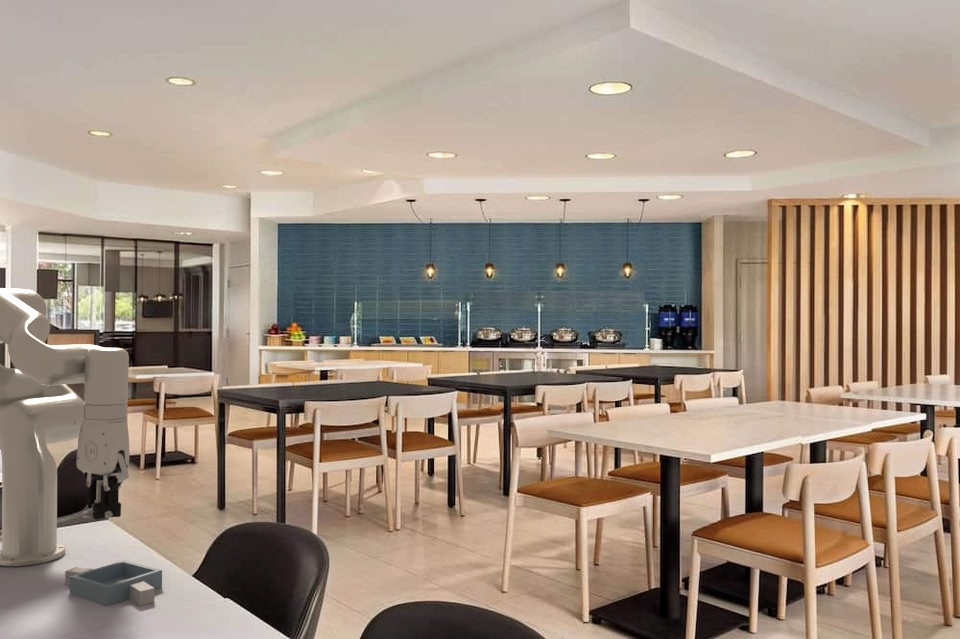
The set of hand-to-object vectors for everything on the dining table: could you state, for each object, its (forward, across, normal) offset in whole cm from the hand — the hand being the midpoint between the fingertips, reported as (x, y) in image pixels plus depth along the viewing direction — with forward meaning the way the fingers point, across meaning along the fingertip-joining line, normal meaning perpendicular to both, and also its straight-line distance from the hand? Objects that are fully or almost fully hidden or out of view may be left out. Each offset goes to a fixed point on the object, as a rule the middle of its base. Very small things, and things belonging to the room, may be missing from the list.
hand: (102, 507), depth 149 cm
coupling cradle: (+11, +13, -6) cm, 18 cm away
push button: (+2, 0, 0) cm, 2 cm away
